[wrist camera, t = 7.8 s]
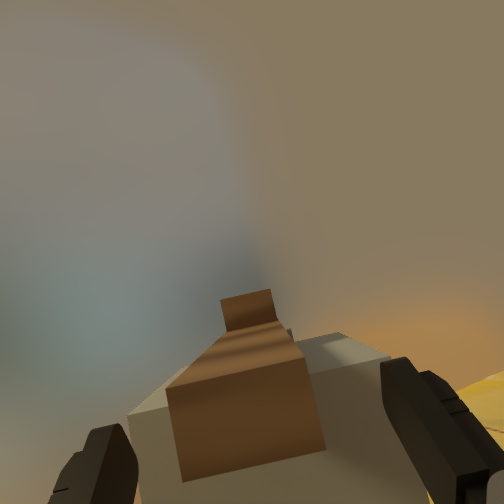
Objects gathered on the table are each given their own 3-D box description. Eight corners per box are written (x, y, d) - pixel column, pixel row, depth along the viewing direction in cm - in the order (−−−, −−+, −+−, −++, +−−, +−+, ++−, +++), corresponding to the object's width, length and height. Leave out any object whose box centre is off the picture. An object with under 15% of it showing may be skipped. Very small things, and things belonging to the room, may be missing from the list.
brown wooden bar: (327, 450, 10) (285, 273, 10) (182, 482, 10) (149, 303, 10) (283, 346, 31) (270, 289, 31) (237, 356, 31) (225, 299, 31)
